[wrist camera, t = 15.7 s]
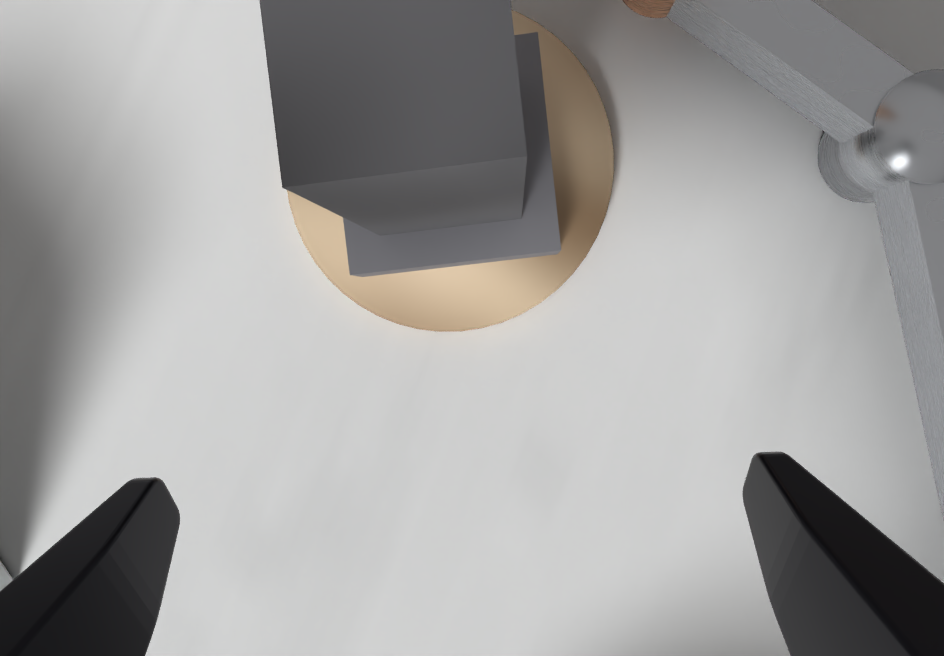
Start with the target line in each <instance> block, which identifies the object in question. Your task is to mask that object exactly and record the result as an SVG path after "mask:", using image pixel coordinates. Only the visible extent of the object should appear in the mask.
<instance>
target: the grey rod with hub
mask: <svg viewBox="0 0 944 656" xmlns="http://www.w3.org/2000/svg"><path fill="white" fill-rule="evenodd" d="M623 2H624V3H625V4H626V5H627V6H628V7H629V8H630V9H631V10H633V11H634V12H636V13H638V14H640V15H643V16H646V17H650V18H663V17H667V18H669V19H670V20H671V21H673V22H674V23H676V24H677V25H678V26H680V27H681V28H683V29H684V30H685V31H687V32H688V33H689V34H691V35H692V36H694V37H695V38H696V39H698V40H699V41H700V42H702V43H703V44H705V45H706V46H707V47H709V48H710V49H711V50H713V51H714V52H716V53H717V54H718V55H720V56H721V57H723V58H724V59H725V60H727V61H728V62H729V63H731V64H732V65H734V66H735V67H736V68H738V69H739V70H740V71H742V72H743V73H745V74H746V75H747V76H749V77H750V78H751V79H753V80H754V81H756V82H757V83H758V84H760V85H761V86H763V87H764V88H765V89H767V90H768V91H769V92H771V93H772V94H774V95H775V96H776V97H778V98H779V99H780V100H782V101H783V102H785V103H786V104H787V105H789V106H790V107H792V108H793V109H794V110H796V111H797V112H798V113H800V114H801V115H803V116H804V117H805V118H807V119H808V120H809V121H811V122H812V123H814V124H815V125H816V126H818V127H819V128H820V129H822V130H823V131H825V132H824V134H823V136H822V139H821V141H820V144H819V149H818V164H819V169H820V172H821V175H822V177H823V179H824V180H825V182H826V183H827V185H828V186H829V187H830V188H831V189H832V190H833V191H834V192H835V193H837V194H838V195H840V196H841V197H843V198H845V199H848V200H851V201H855V202H875V205H876V210H877V215H878V219H879V224H880V228H881V233H882V238H883V242H884V247H885V251H886V256H887V261H888V265H889V270H890V275H891V279H892V284H893V288H894V293H895V298H896V302H897V307H898V311H899V316H900V321H901V325H902V330H903V334H904V339H905V344H906V348H907V353H908V357H909V362H910V367H911V371H912V376H913V380H914V385H915V390H916V394H917V399H918V404H919V408H920V413H921V417H922V422H923V427H924V431H925V436H926V440H927V445H928V450H929V454H930V459H931V463H932V468H933V473H934V477H935V482H936V486H937V491H938V496H939V500H940V505H941V509H942V514H943V519H944V70H940V69H936V70H927V71H922V72H919V73H916V74H914V73H913V72H911V71H910V70H908V69H907V68H906V67H904V66H903V65H901V64H900V63H899V62H897V61H896V60H894V59H893V58H892V57H890V56H889V55H888V54H886V53H885V52H883V51H882V50H881V49H879V48H878V47H876V46H875V45H874V44H872V43H871V42H869V41H868V40H867V39H865V38H864V37H862V36H861V35H860V34H858V33H857V32H856V31H854V30H853V29H851V28H850V27H849V26H847V25H846V24H844V23H843V22H842V21H840V20H839V19H837V18H836V17H835V16H833V15H832V14H830V13H829V12H828V11H826V10H825V9H824V8H822V7H821V6H819V5H818V4H817V3H815V2H814V1H812V0H623Z"/></svg>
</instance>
